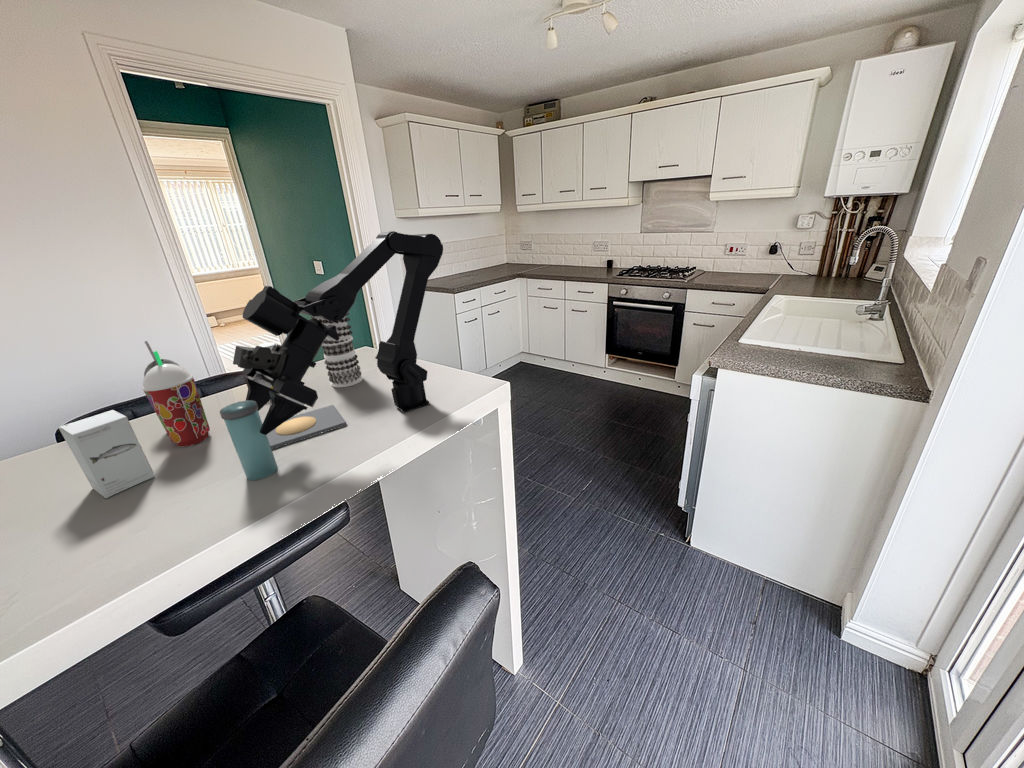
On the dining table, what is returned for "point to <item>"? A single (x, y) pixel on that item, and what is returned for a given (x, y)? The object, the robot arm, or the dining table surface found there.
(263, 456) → the teal capped cylinder
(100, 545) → the dining table surface
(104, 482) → the supplement box
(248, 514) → the dining table surface
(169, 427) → the smoothie
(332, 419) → the mat
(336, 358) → the decorative candle
